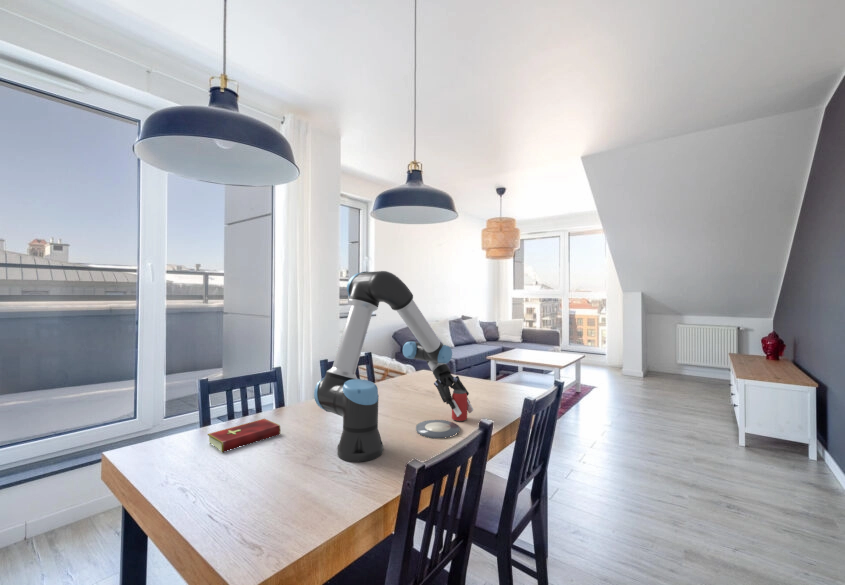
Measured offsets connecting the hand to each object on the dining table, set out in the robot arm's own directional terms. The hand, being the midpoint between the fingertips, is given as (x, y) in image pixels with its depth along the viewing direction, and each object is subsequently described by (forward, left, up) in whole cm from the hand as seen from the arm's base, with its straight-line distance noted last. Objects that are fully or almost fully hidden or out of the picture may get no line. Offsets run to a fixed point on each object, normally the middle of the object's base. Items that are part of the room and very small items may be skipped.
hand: (465, 413), depth 155 cm
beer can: (+1, +3, -4) cm, 5 cm away
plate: (-15, +3, -4) cm, 16 cm away
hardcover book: (-68, +51, -4) cm, 85 cm away
